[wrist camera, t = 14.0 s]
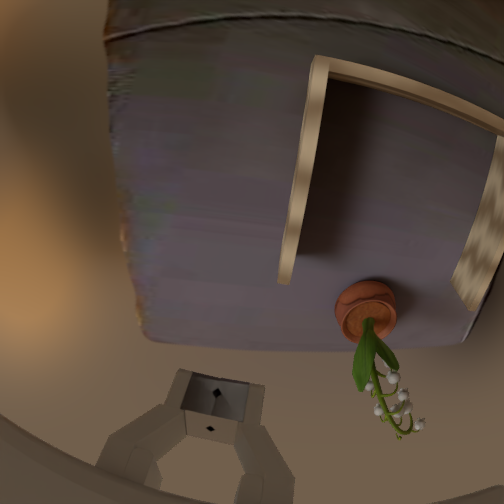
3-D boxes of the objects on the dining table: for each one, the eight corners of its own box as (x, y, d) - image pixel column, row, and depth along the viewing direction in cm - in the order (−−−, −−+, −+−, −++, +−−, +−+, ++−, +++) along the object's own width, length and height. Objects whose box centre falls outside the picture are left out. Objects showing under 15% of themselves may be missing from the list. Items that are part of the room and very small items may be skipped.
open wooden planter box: (311, 63, 33) (315, 54, 26) (505, 129, 31) (537, 139, 24) (280, 252, 46) (277, 282, 39) (456, 282, 44) (475, 311, 37)
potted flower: (411, 295, 46) (461, 420, 24) (376, 335, 51) (400, 460, 29) (356, 264, 45) (392, 403, 23) (322, 310, 50) (328, 448, 28)
